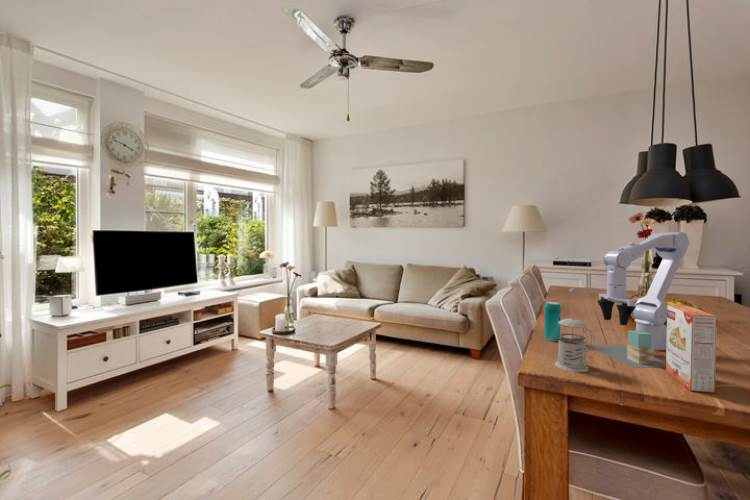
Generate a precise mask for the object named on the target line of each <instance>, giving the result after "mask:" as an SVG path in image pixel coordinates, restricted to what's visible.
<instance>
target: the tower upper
mask: <svg viewBox="0 0 750 500" xmlns="http://www.w3.org/2000/svg"><path fill="white" fill-rule="evenodd" d="M626 347H627V351H628V352H631V353H633V354H635V355H638V356H654V354H655V350H654V348H653V347H651V348H637V347H634V346H632V345H629V344H628V343H627V345H626Z"/></svg>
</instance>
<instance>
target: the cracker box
mask: <svg viewBox="0 0 750 500" xmlns="http://www.w3.org/2000/svg"><path fill="white" fill-rule="evenodd" d="M666 305H667V319H666V327H667V343H666V350H665V352H666V353H665V354H666V355H665V357H666V358H665V362H666V367H665V372H666V374H668V375H670V376H671V377H672V378H673V379H675V380H676V381H678V382H679V383H680V384H681V385H682V386H684V387H685V388H686V389H687V390H689V391H690V392H697V393H698V392H700V393H709V394H715V393H716V374H717V373H716V372H717V370H716V367H717V366H716V364H717V338H718V337H717V336H718V316H717V315H715V314H712V313H709V312H706V311H704V310H701V309H699V308H696V307H693V306H691V305H678V304H669V305H668V304H666Z"/></svg>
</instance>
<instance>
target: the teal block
mask: <svg viewBox="0 0 750 500" xmlns="http://www.w3.org/2000/svg"><path fill="white" fill-rule="evenodd" d="M651 340H652V334H651V333H648V332H645V331H642V330H636V329H635V330H633V329H632V330H631V329H630V330H627V344H629V345H632V346H634V347H637V348H651Z"/></svg>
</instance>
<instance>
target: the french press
mask: <svg viewBox="0 0 750 500" xmlns="http://www.w3.org/2000/svg"><path fill="white" fill-rule="evenodd" d="M569 292H570V293H572V294H574V293H577V289H576V288H573V287H572V288H570V289H569ZM571 309H572V314H571V315H572V317H571V318H564V319H560V321H559V322H558V323H559V325H560V327H565V328H568V329H569V328H571V333H569V332H565V333H563V332H562V333H560V338H559V340H558V349H557V351H558V352H557V353H558V354H557V361H556V362H554V366H555V367H556V368H559V369H560V370H563V371H566V372H567V371H568V372H571V373H572V372H574V373H585V372H588V371H589V370H590V368H589V367H588V366H587V363H586V362H587V353H588V352H590V351H591V350H593V349H592V348H593V347H594V346H595V345H596V336H595V334H594V332H593V331H592V330H591V329H589V328H587V327H588V324H587V323H585V322H584V321H582V320H581V319H580V320H579V319H577V318H574V307H572V308H571ZM574 329H582V332H583V333H584V334H586V333H587V331H588V332H589V334H590V343H589V345H587V342H586V341H585V339H586V337H585V336H584V335H581V334H579V333H578V334H577V333H574ZM584 330H585V331H584ZM571 342H573V343H571ZM592 342H593V345H592ZM587 346H588V347H587ZM590 346H593V347H592V348H590V349H589V347H590Z"/></svg>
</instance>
